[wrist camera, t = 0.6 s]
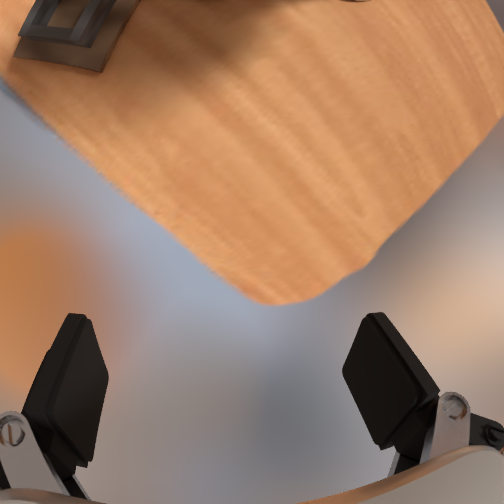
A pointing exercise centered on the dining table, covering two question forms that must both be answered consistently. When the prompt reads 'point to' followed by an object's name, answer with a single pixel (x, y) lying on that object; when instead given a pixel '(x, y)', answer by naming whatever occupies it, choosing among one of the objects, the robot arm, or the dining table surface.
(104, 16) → the collar base
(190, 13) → the dining table surface
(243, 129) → the dining table surface
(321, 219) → the dining table surface
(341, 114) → the dining table surface
